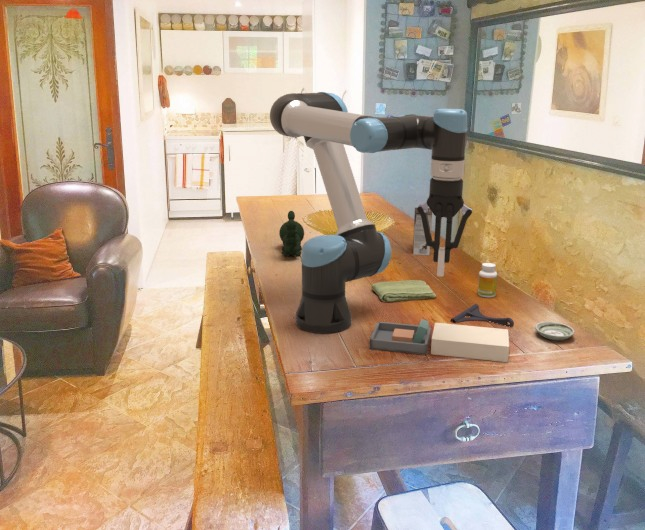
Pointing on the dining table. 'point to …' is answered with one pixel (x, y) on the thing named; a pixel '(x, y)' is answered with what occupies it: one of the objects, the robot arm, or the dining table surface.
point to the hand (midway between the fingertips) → (440, 274)
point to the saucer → (554, 330)
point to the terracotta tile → (403, 335)
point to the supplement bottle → (487, 280)
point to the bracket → (479, 317)
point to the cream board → (470, 342)
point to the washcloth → (403, 290)
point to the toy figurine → (291, 236)
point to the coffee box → (420, 234)
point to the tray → (383, 341)
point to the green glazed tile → (420, 331)
